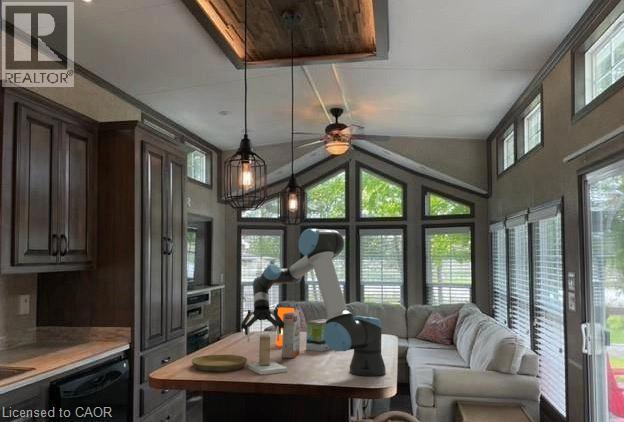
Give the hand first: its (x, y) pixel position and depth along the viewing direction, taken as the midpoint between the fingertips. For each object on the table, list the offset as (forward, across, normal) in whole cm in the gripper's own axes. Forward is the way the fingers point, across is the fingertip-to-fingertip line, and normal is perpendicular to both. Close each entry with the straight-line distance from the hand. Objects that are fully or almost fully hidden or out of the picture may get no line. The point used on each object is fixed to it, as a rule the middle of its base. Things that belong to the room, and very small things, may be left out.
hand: (263, 339), depth 224 cm
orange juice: (-24, -16, -38) cm, 48 cm away
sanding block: (+14, 0, +2) cm, 14 cm away
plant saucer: (+11, +20, -4) cm, 23 cm away
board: (+17, 0, +3) cm, 18 cm away
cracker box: (-3, -15, -18) cm, 23 cm away
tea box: (-14, -33, -29) cm, 46 cm away
